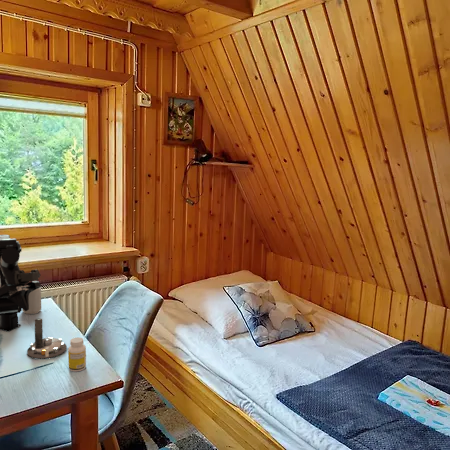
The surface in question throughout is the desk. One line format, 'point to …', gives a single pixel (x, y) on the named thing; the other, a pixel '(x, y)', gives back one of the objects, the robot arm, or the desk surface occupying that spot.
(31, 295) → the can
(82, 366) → the supplement bottle
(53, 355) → the base plate
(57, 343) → the sprocket
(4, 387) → the desk surface
